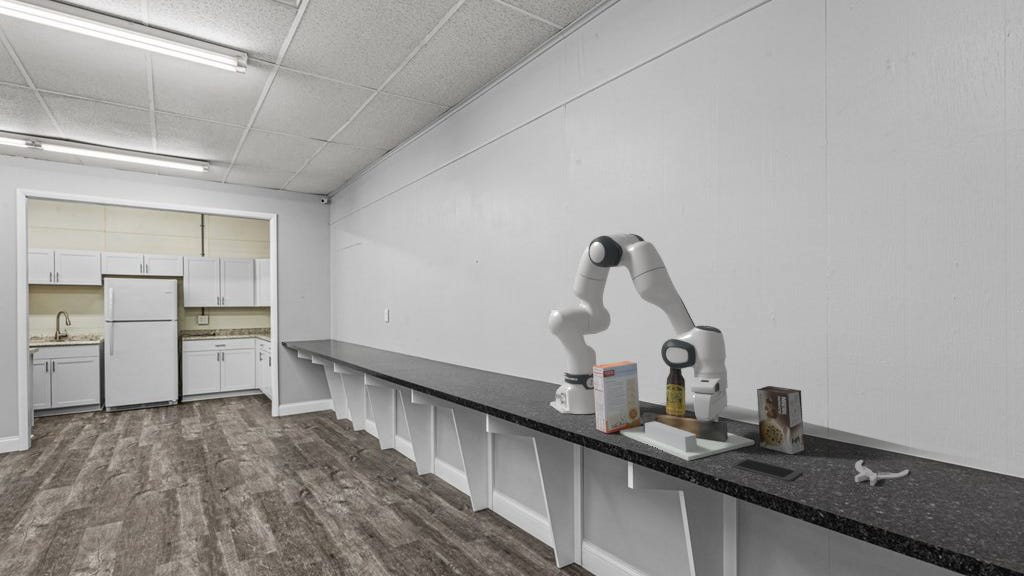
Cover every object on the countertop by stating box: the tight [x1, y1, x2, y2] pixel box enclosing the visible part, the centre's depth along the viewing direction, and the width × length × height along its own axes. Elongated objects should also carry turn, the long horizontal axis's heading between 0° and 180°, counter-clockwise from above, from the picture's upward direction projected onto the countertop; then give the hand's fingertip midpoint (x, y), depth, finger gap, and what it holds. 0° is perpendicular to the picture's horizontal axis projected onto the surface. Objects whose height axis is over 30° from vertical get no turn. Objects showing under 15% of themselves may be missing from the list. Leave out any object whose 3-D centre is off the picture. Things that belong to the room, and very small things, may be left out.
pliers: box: [854, 459, 910, 487], centre depth 112 cm, size 10×2×15 cm
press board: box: [619, 421, 755, 462], centre depth 143 cm, size 28×25×5 cm
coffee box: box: [756, 385, 805, 455], centre depth 132 cm, size 9×6×16 cm
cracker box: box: [593, 361, 641, 434], centre depth 156 cm, size 14×6×21 cm, turn 117°
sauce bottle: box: [665, 367, 686, 418], centre depth 166 cm, size 6×6×20 cm
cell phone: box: [731, 458, 803, 483], centre depth 117 cm, size 7×14×1 cm, turn 38°
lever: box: [642, 412, 729, 441], centre depth 143 cm, size 24×4×4 cm, turn 52°
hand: (713, 428), depth 141 cm, fingers closed
